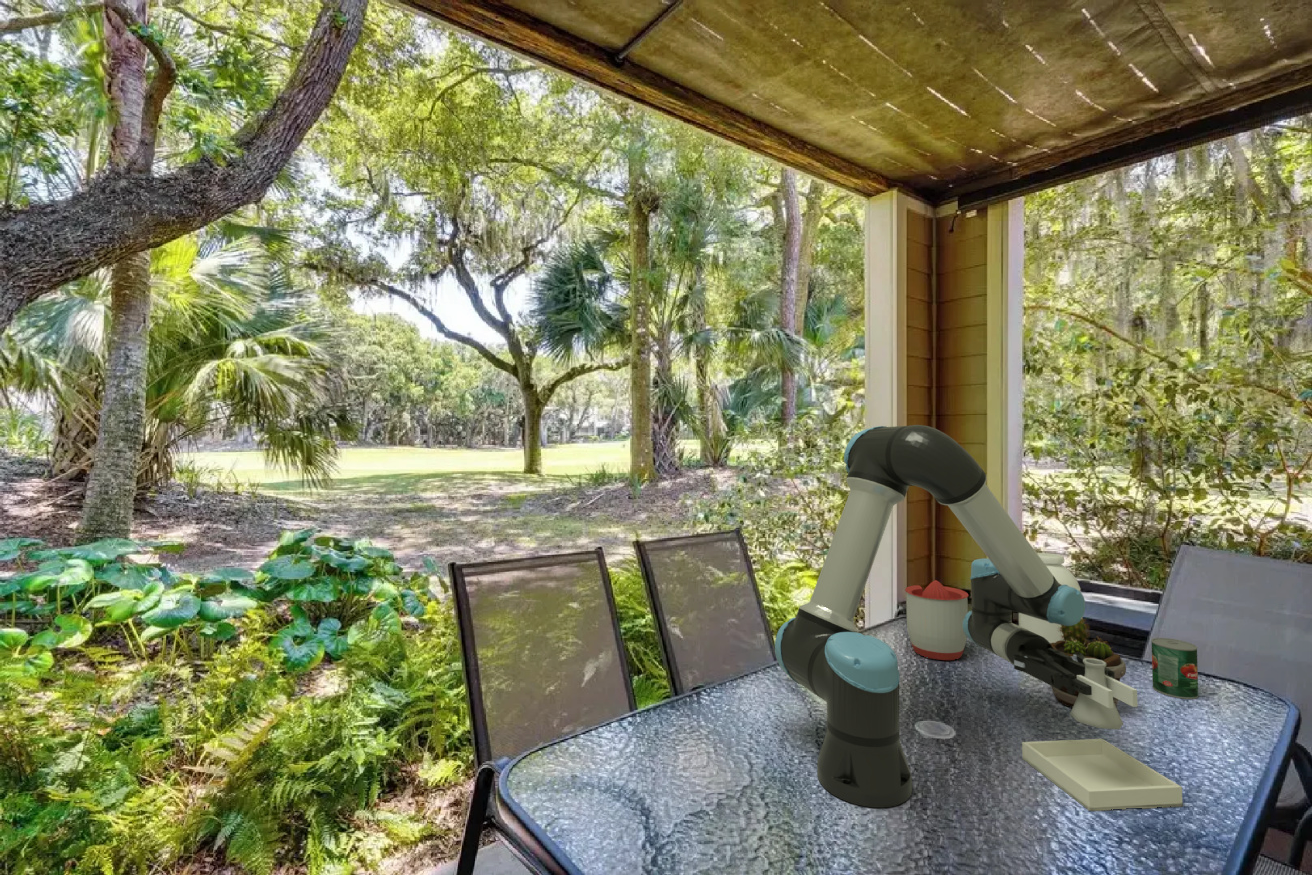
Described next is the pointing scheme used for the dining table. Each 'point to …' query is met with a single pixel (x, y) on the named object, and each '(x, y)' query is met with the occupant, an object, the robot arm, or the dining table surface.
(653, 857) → the dining table surface
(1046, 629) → the bottle
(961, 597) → the citrus juicer
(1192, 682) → the canned tomato
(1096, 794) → the box
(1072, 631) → the flowerpot
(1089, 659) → the flask
